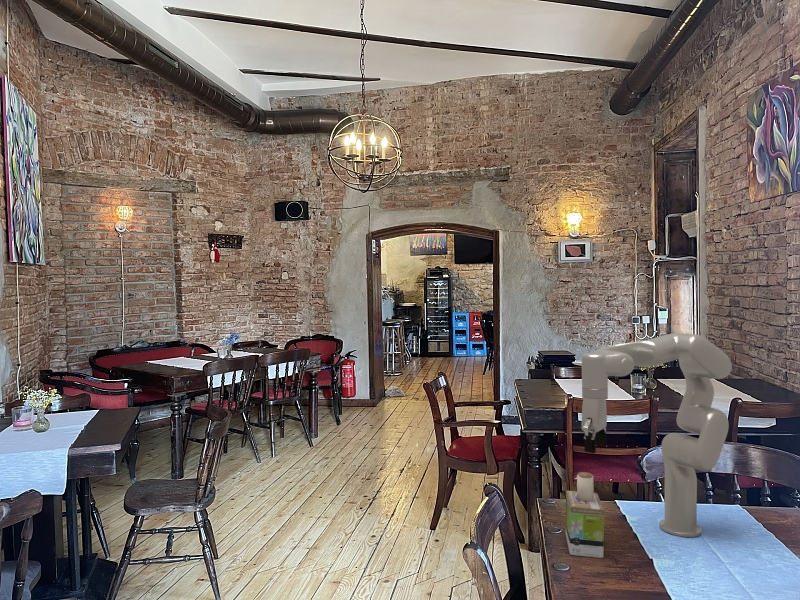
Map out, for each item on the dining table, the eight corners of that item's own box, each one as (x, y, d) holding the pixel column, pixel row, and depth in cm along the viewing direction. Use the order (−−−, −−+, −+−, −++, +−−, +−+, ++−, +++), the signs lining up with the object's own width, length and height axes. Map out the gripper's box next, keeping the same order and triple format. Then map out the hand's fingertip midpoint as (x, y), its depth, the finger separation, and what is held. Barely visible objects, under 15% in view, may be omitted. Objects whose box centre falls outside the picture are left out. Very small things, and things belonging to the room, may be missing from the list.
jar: (580, 494, 176) (580, 470, 176) (595, 498, 173) (595, 473, 173) (574, 499, 172) (574, 474, 172) (590, 502, 170) (590, 477, 170)
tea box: (604, 558, 165) (604, 508, 165) (569, 555, 167) (569, 506, 167) (597, 537, 179) (597, 491, 179) (564, 534, 181) (564, 489, 181)
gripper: (592, 388, 181) (593, 440, 182) (572, 396, 168) (573, 453, 168) (616, 390, 177) (616, 444, 177) (597, 399, 163) (598, 457, 163)
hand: (595, 448), depth 173 cm, fingers open, 9 cm apart
